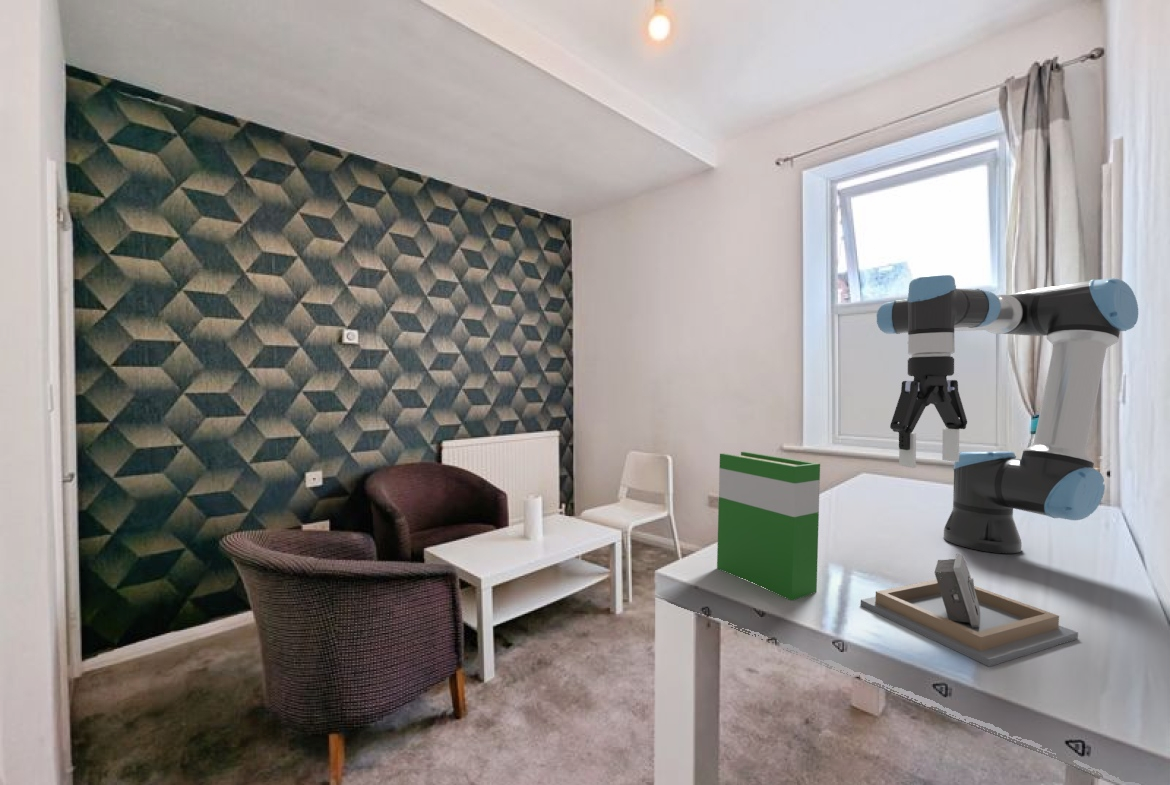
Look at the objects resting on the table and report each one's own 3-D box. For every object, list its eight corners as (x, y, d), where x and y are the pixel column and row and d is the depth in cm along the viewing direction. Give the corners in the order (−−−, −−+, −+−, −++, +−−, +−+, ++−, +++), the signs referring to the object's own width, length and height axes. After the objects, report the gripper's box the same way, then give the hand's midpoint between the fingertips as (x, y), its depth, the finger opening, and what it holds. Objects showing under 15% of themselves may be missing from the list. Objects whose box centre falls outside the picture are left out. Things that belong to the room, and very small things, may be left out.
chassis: (943, 588, 95) (943, 572, 95) (1077, 638, 77) (1078, 619, 77) (860, 605, 87) (861, 588, 87) (989, 666, 69) (989, 645, 68)
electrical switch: (979, 631, 77) (973, 570, 77) (938, 623, 80) (933, 565, 80) (980, 610, 84) (975, 554, 84) (942, 604, 87) (938, 550, 87)
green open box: (717, 568, 104) (719, 453, 103) (741, 562, 107) (743, 451, 107) (791, 600, 89) (795, 466, 88) (816, 592, 92) (820, 463, 92)
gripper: (948, 357, 106) (947, 456, 107) (869, 356, 96) (869, 465, 96) (989, 355, 99) (988, 461, 100) (908, 354, 89) (907, 472, 90)
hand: (929, 463), depth 98 cm, fingers open, 13 cm apart
